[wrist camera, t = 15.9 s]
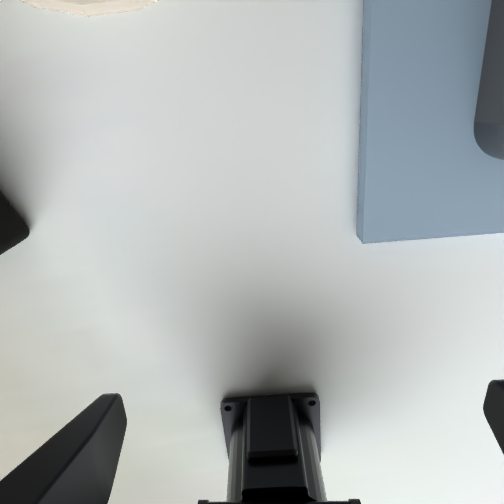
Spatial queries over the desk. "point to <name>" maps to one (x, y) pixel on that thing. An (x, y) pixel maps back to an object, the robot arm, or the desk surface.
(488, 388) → the robot arm
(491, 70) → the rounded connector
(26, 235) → the battery
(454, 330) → the desk surface
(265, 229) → the desk surface
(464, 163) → the pad
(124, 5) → the hand towel holder
